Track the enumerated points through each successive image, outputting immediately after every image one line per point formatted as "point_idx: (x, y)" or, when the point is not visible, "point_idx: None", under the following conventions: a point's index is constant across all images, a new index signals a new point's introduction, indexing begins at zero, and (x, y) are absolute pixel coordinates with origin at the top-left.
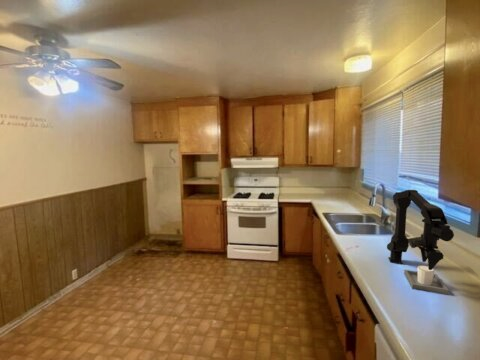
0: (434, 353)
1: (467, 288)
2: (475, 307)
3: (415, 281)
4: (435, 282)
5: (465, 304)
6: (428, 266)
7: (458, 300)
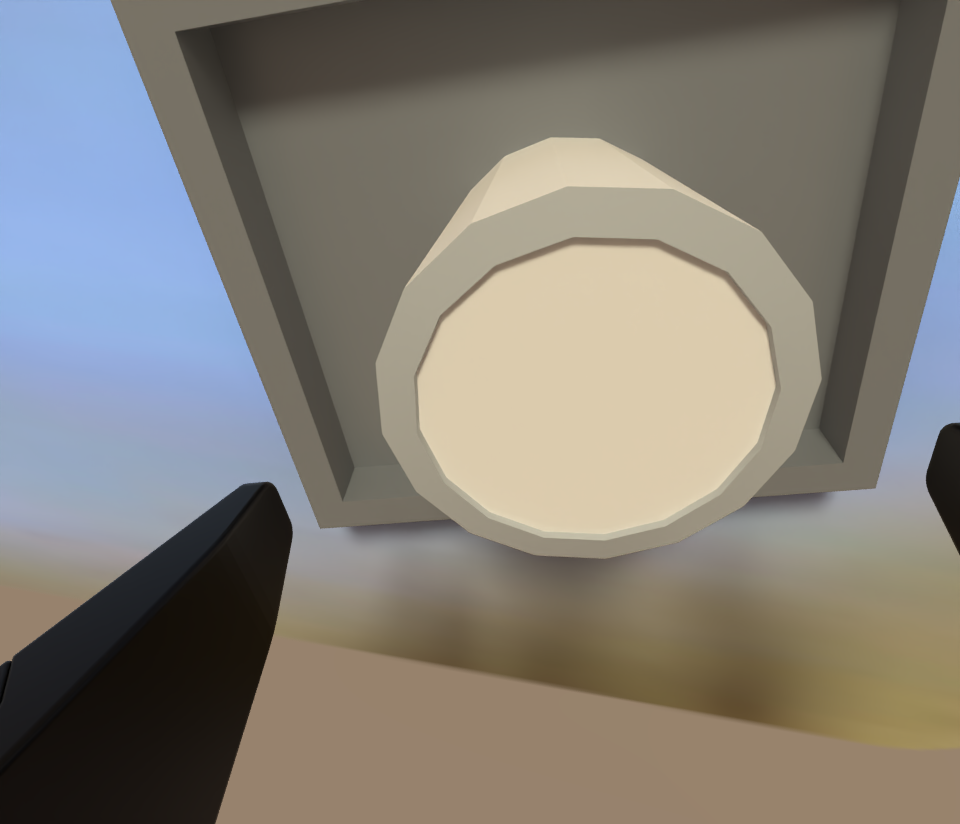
0: None
1: (642, 660)
2: None
3: (511, 86)
4: None
5: None
6: (187, 542)
7: None
